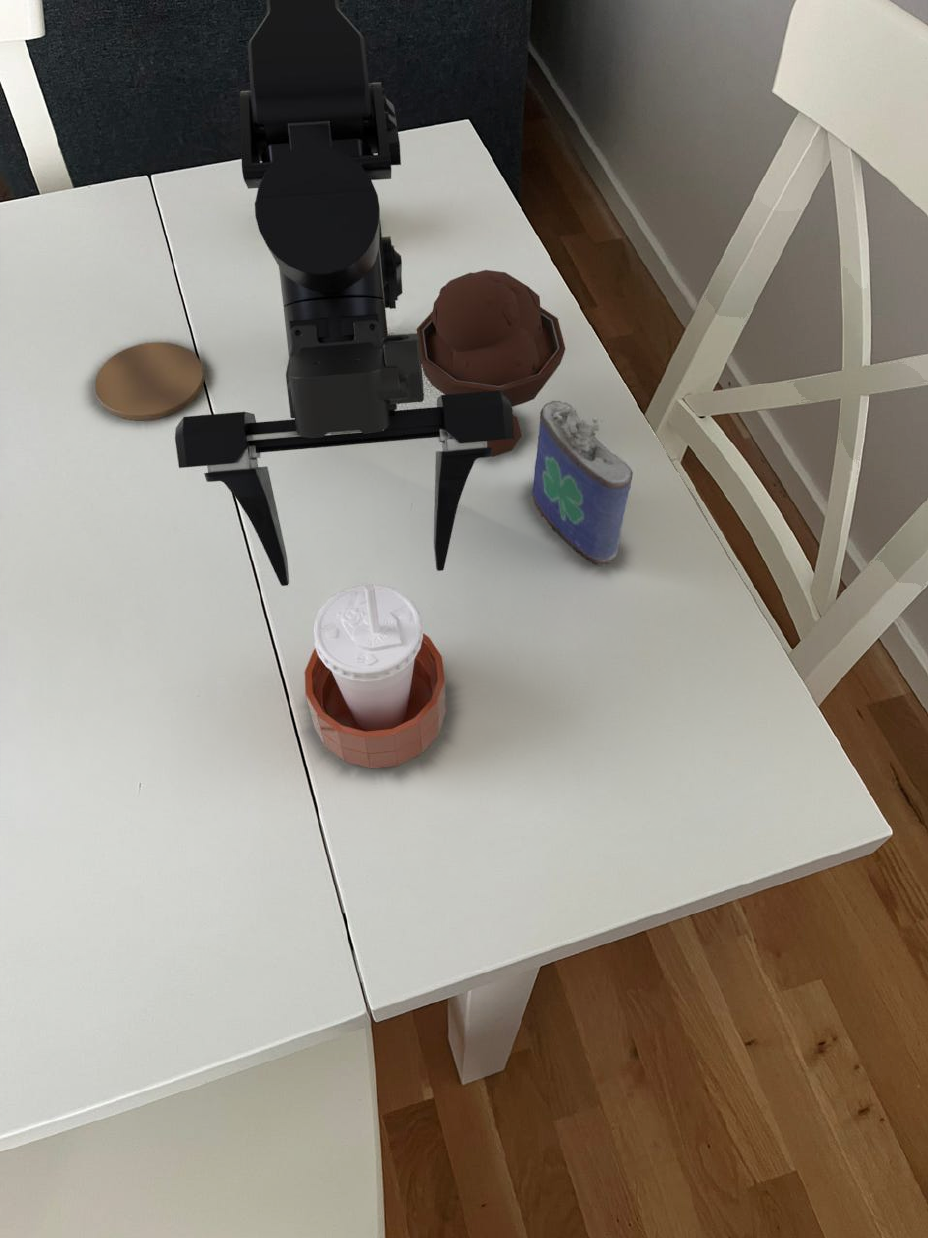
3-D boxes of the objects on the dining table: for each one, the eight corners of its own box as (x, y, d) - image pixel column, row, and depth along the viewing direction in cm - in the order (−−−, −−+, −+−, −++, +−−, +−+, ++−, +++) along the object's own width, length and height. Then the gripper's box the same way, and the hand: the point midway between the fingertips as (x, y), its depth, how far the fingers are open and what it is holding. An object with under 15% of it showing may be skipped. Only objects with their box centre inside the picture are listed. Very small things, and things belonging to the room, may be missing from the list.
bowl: (373, 633, 69) (368, 596, 65) (471, 700, 66) (471, 665, 62) (286, 720, 65) (276, 685, 61) (386, 795, 62) (381, 763, 58)
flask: (623, 557, 73) (644, 455, 64) (591, 574, 72) (608, 473, 63) (551, 479, 77) (561, 373, 68) (520, 494, 76) (526, 389, 68)
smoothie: (391, 768, 63) (375, 649, 51) (311, 721, 65) (277, 596, 53) (446, 694, 66) (442, 566, 54) (367, 651, 68) (347, 519, 56)
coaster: (155, 333, 87) (153, 328, 87) (226, 376, 84) (225, 371, 83) (74, 389, 83) (71, 383, 83) (146, 436, 80) (144, 431, 79)
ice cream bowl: (545, 489, 77) (560, 334, 64) (406, 468, 78) (394, 312, 66) (565, 396, 82) (582, 237, 70) (435, 378, 84) (429, 219, 71)
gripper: (132, 297, 47) (177, 616, 50) (516, 267, 49) (539, 580, 51) (178, 324, 58) (213, 585, 61) (491, 300, 59) (511, 556, 62)
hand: (363, 577), depth 59 cm, fingers open, 9 cm apart
